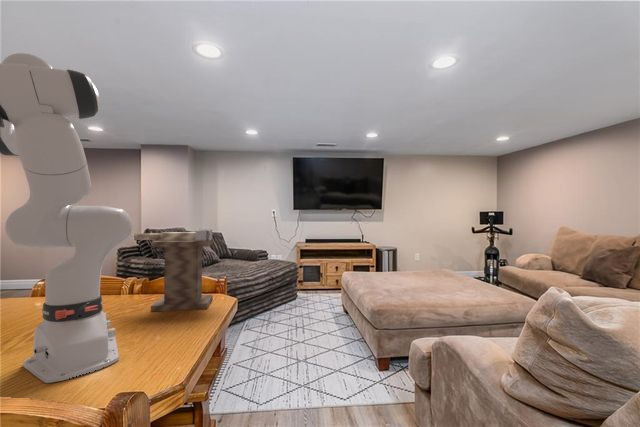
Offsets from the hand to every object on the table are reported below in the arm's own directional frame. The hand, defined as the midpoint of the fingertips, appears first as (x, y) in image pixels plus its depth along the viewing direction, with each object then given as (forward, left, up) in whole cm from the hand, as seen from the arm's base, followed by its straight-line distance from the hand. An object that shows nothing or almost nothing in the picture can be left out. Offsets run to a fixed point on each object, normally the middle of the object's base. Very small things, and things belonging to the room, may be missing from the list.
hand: (53, 211), depth 101 cm
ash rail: (-15, -33, -11) cm, 38 cm away
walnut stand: (-18, -37, -37) cm, 55 cm away
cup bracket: (-22, -42, -11) cm, 49 cm away
